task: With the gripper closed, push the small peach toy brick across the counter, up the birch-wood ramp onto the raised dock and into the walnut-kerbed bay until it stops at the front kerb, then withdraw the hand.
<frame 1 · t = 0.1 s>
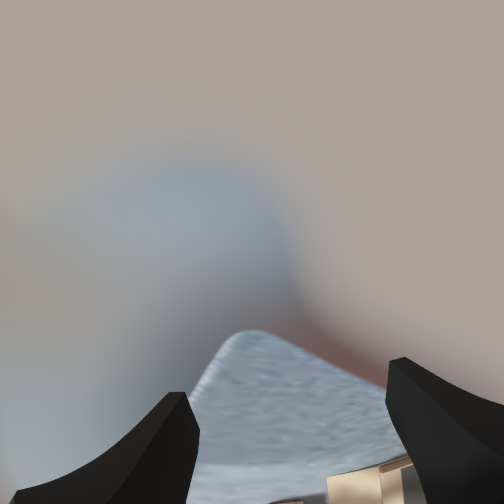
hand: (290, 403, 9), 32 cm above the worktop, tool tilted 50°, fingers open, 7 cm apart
dock: (410, 488, 26), on the worktop
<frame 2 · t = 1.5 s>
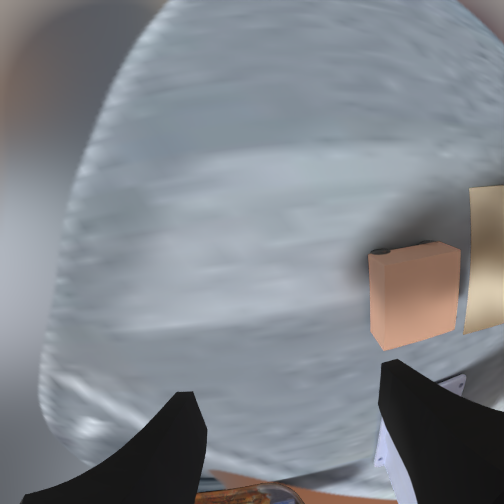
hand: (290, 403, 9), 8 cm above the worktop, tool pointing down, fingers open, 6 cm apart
tin: (234, 493, 23), on the worktop
peach toy brick: (402, 283, 17), on the worktop
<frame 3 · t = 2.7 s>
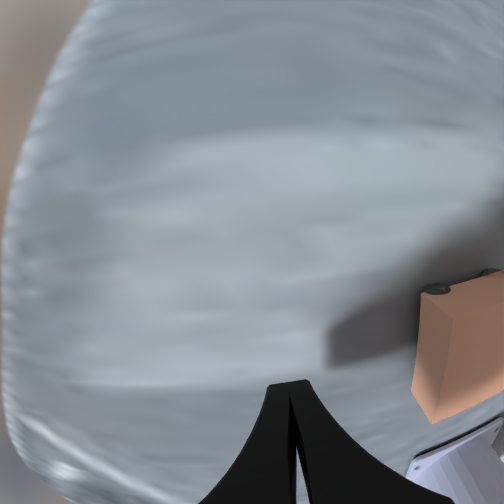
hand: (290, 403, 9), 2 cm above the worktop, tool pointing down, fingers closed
peach toy brick: (455, 327, 11), on the worktop
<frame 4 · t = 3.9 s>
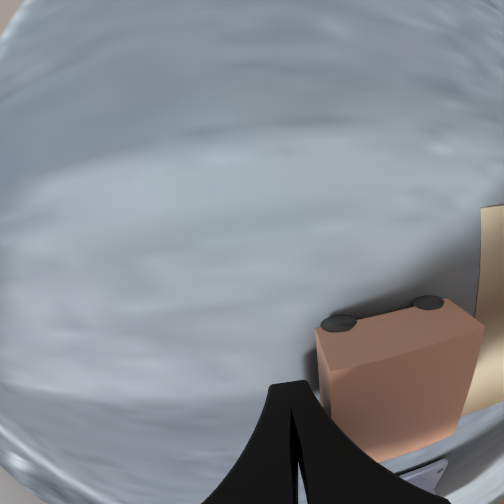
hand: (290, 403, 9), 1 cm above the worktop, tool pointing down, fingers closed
peach toy brick: (379, 363, 10), on the worktop, touching gripper
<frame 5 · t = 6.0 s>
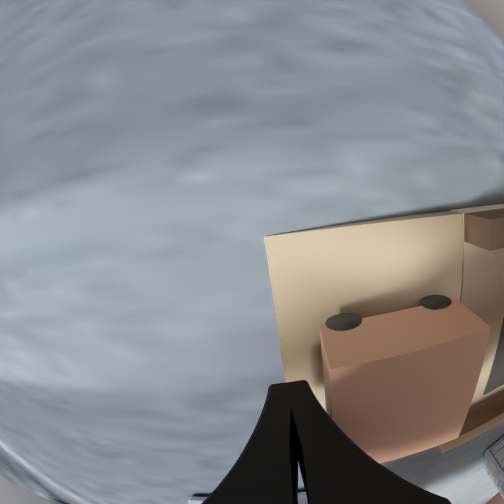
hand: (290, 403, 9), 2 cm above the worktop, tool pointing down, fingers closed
peach toy brick: (385, 362, 10), point 1 cm above the worktop, touching gripper
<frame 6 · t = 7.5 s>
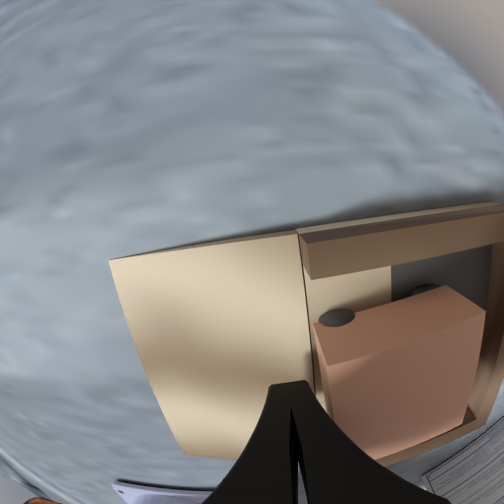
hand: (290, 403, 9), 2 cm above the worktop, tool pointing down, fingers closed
dock: (411, 340, 11), on the worktop
medicine box: (465, 453, 14), on the worktop
peach toy brick: (381, 355, 10), point 1 cm above the worktop, touching dock, gripper
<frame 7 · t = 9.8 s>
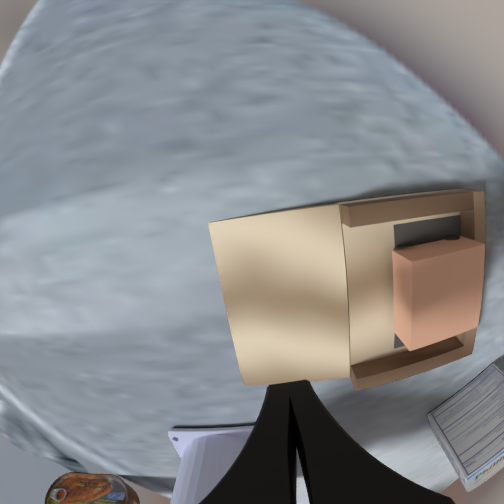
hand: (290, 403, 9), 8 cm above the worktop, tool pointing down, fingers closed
dock: (409, 282, 17), on the worktop
medicine box: (462, 398, 20), on the worktop
tin: (99, 479, 24), on the worktop
peach toy brick: (424, 280, 16), point 1 cm above the worktop, touching dock
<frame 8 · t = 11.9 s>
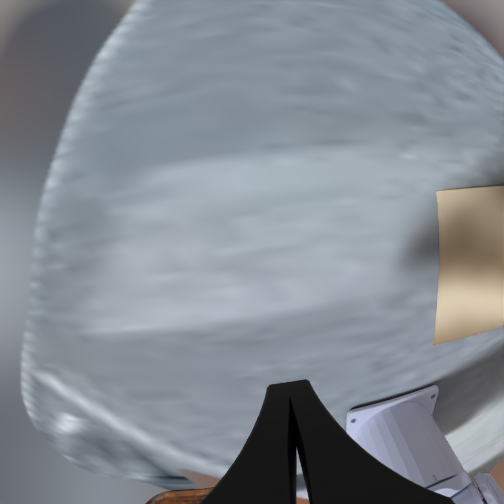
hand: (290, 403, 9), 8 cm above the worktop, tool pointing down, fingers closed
tin: (206, 493, 23), on the worktop
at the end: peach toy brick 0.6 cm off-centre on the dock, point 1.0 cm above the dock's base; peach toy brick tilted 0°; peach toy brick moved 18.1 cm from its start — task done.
